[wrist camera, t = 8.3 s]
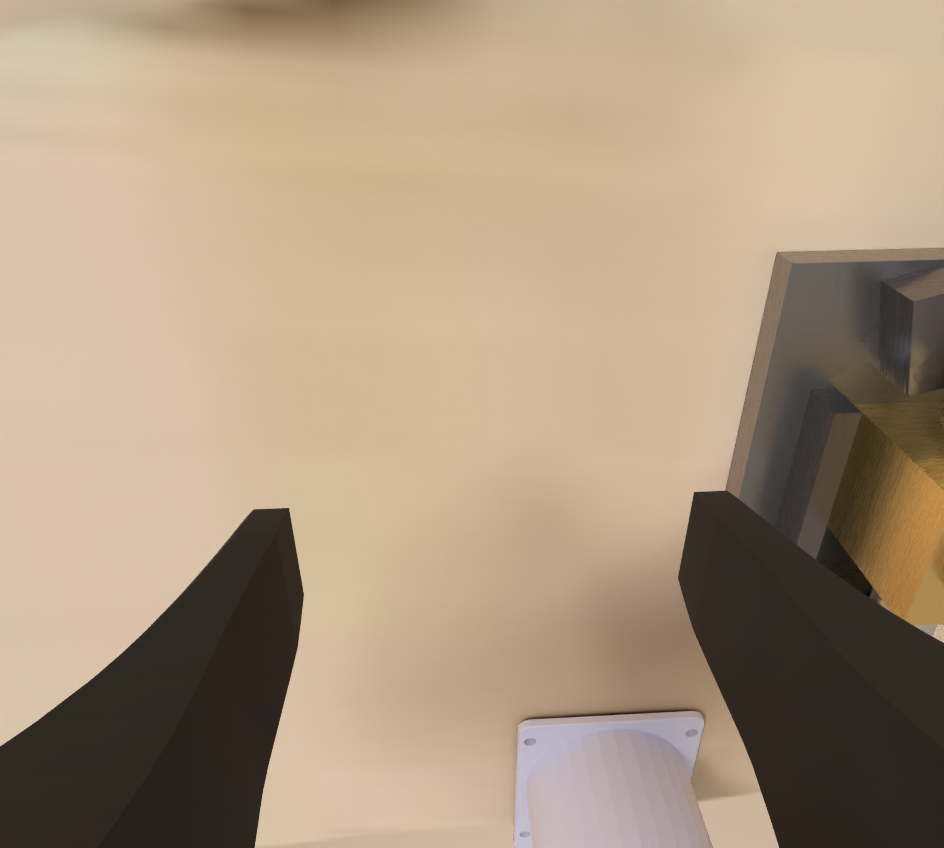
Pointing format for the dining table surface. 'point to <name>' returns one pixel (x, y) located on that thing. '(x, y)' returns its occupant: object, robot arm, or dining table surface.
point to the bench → (833, 382)
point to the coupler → (896, 507)
